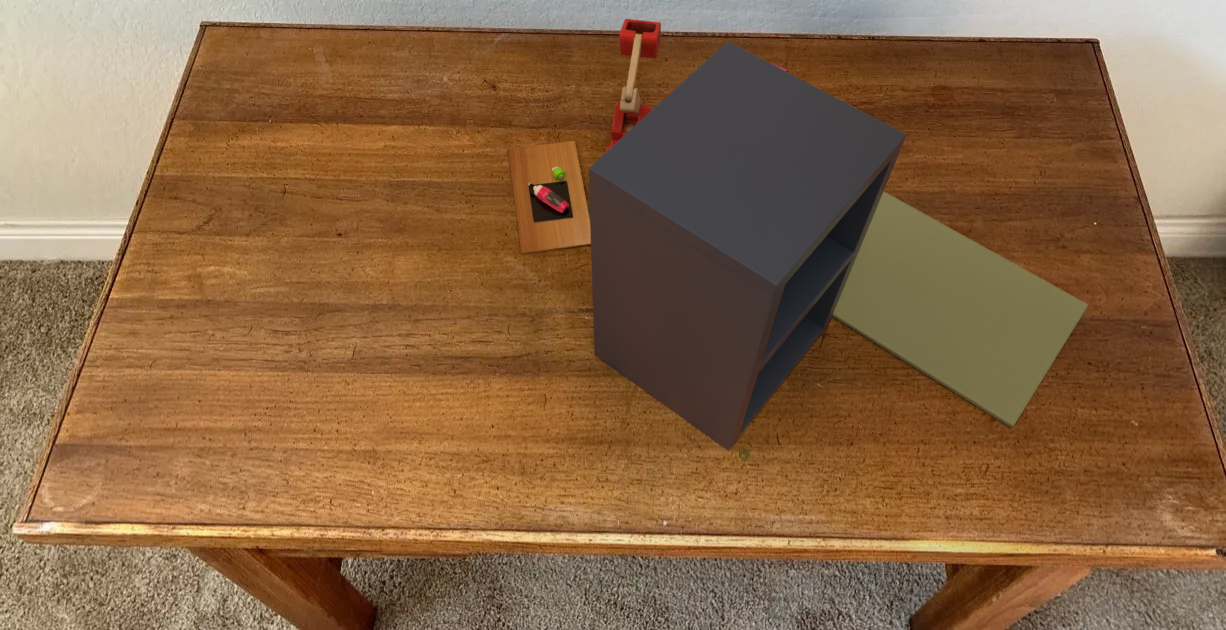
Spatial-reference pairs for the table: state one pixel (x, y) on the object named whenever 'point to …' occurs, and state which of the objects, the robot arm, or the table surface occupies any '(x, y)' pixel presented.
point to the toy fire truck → (633, 74)
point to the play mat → (955, 309)
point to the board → (549, 197)
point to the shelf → (730, 235)
